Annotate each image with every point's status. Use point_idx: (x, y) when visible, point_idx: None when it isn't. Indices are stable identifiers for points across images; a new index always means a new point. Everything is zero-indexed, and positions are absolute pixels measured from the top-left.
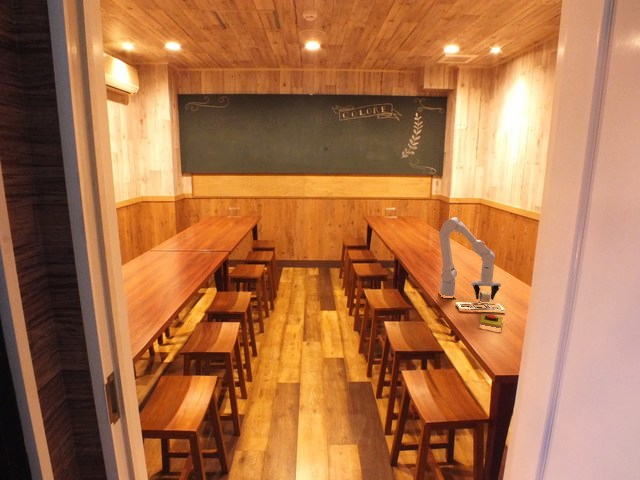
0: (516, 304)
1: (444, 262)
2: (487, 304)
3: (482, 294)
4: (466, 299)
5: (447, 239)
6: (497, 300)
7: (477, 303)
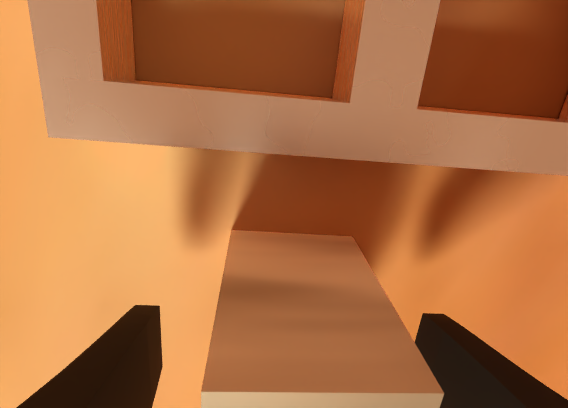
0: None
1: None
2: (335, 103)
3: (436, 383)
4: None
5: None
6: None
7: (523, 149)
